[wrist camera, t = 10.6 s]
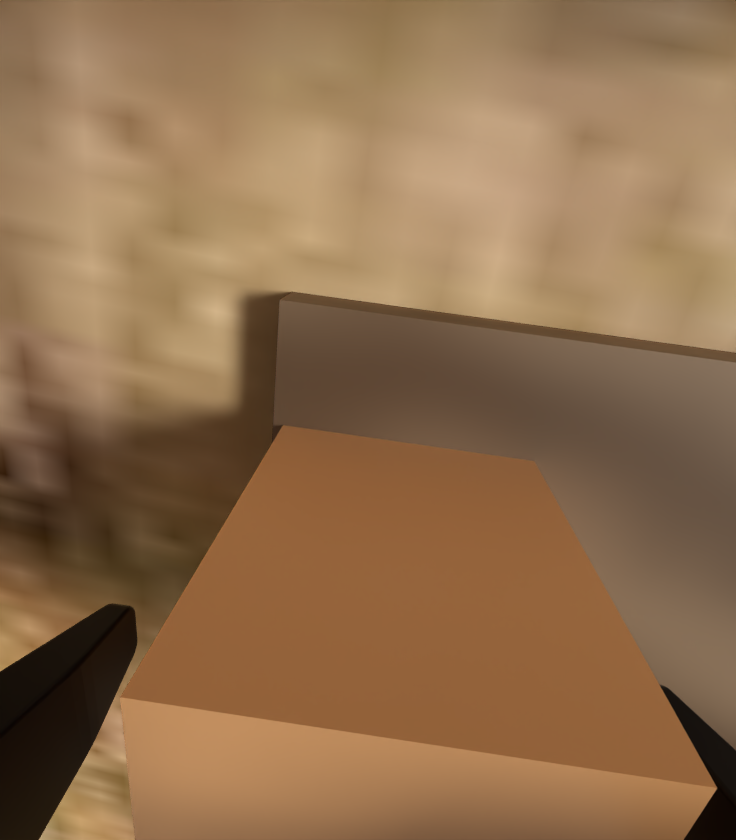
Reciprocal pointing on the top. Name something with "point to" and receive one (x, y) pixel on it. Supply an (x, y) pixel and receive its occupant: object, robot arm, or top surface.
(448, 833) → the square block
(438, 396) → the walnut board
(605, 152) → the top surface
